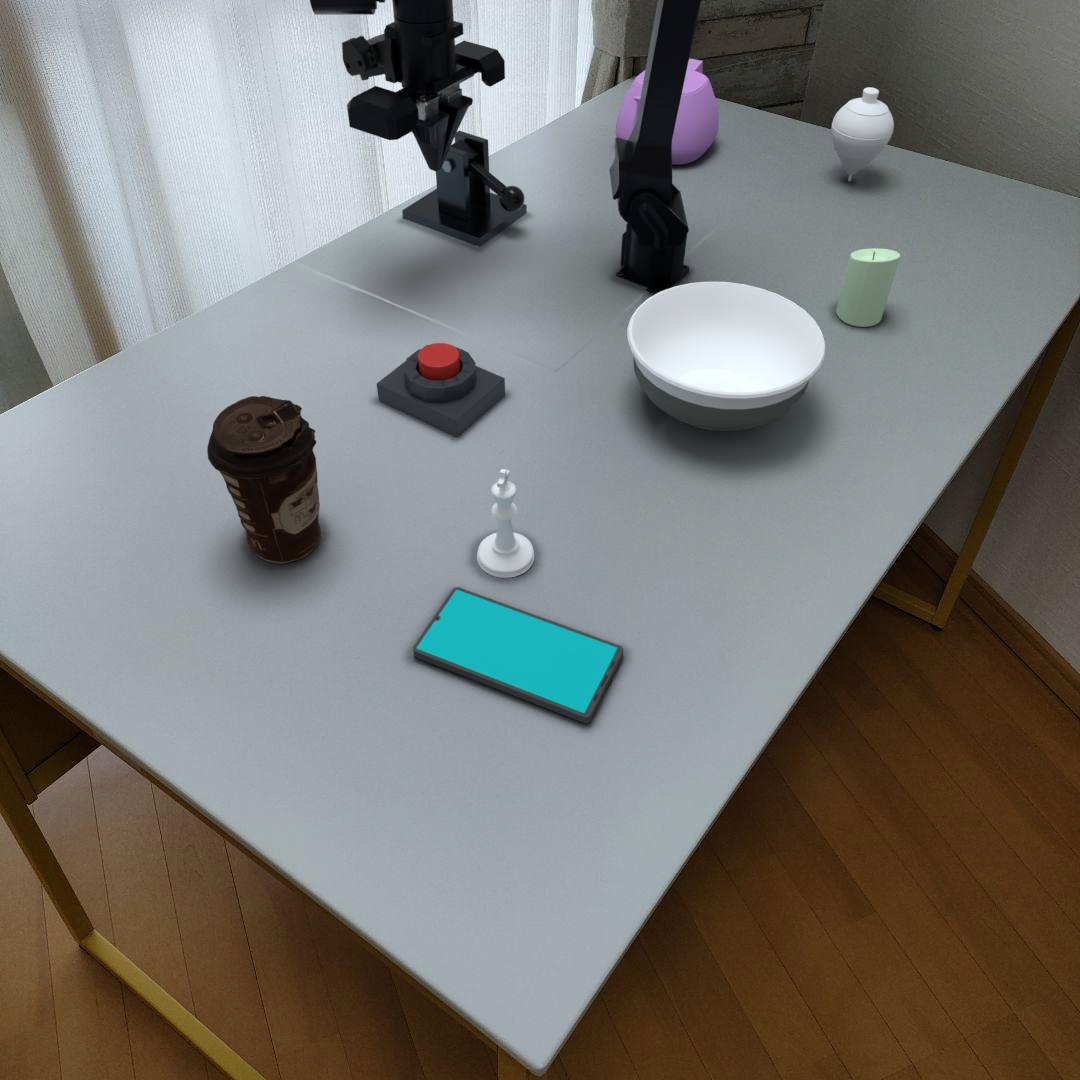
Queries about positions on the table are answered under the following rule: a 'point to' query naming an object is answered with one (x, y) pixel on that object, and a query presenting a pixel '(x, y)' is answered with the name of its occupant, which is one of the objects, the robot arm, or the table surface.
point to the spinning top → (861, 130)
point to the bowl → (724, 353)
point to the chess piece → (505, 536)
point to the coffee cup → (269, 475)
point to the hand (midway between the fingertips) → (435, 169)
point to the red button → (439, 361)
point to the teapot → (679, 115)
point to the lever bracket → (463, 199)
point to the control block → (442, 394)
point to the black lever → (492, 180)
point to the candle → (867, 286)
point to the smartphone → (520, 653)
